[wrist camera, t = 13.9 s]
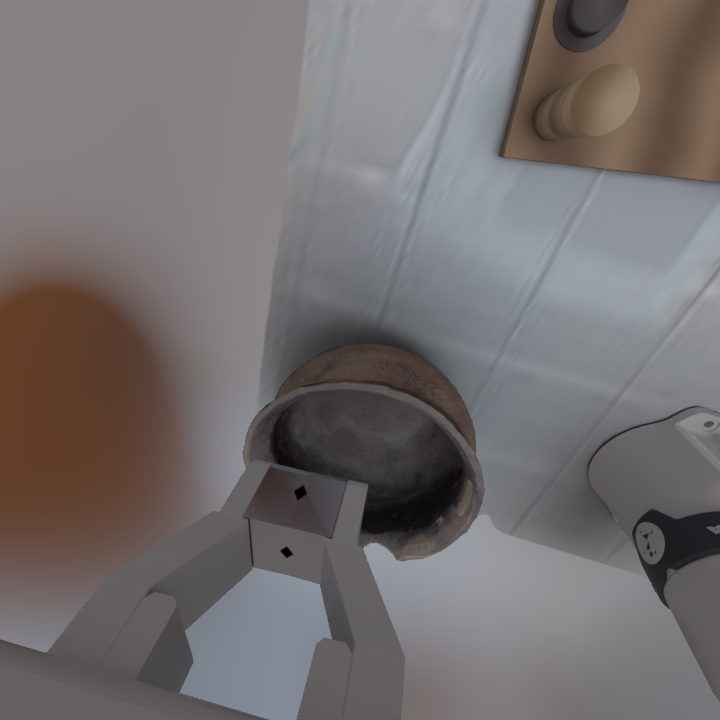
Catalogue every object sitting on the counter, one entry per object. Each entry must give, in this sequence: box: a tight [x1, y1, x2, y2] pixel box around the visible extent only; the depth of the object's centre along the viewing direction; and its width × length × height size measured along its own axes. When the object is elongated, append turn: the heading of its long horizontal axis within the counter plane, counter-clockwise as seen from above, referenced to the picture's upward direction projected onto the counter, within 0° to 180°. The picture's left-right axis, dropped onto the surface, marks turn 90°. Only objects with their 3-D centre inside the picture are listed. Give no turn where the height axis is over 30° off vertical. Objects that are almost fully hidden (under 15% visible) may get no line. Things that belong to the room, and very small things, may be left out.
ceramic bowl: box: [243, 344, 484, 561], centre depth 39 cm, size 22×22×15 cm
